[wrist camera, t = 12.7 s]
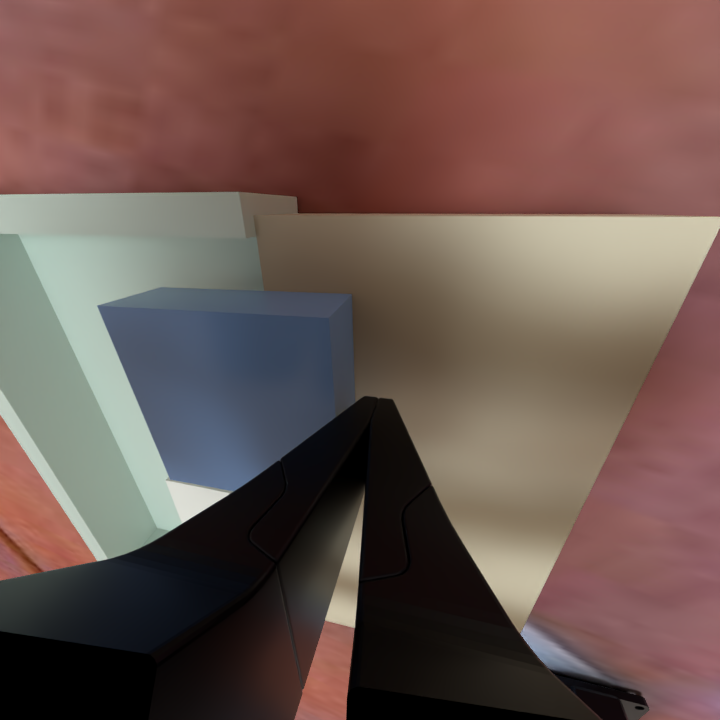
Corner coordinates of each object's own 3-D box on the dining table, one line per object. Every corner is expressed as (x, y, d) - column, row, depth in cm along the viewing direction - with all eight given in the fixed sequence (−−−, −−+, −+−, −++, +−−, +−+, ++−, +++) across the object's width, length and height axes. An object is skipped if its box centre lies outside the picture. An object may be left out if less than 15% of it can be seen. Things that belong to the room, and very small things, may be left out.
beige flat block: (492, 597, 17) (504, 665, 15) (327, 561, 19) (311, 616, 17) (633, 214, 8) (724, 216, 6) (298, 213, 10) (252, 215, 8)
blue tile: (357, 462, 11) (342, 511, 9) (208, 439, 12) (170, 479, 10) (351, 294, 8) (329, 318, 6) (160, 287, 9) (96, 305, 7)
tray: (327, 565, 19) (308, 632, 16) (155, 528, 22) (110, 580, 19) (296, 197, 10) (238, 191, 7) (-3, 199, 12) (-145, 196, 9)
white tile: (306, 542, 18) (293, 579, 16) (215, 522, 19) (194, 555, 17) (299, 469, 15) (282, 503, 13) (193, 450, 16) (165, 480, 14)
